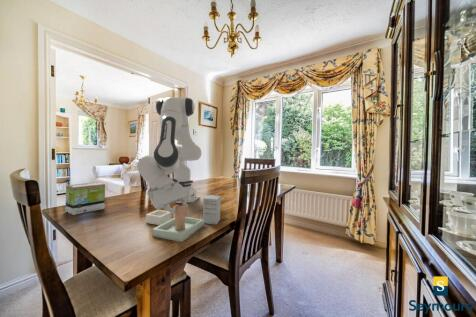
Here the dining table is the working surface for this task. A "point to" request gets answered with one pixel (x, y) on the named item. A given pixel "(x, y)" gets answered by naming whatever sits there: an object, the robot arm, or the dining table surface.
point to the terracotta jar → (180, 218)
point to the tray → (170, 233)
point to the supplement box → (211, 209)
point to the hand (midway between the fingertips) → (180, 210)
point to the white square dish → (158, 217)
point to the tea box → (85, 197)
